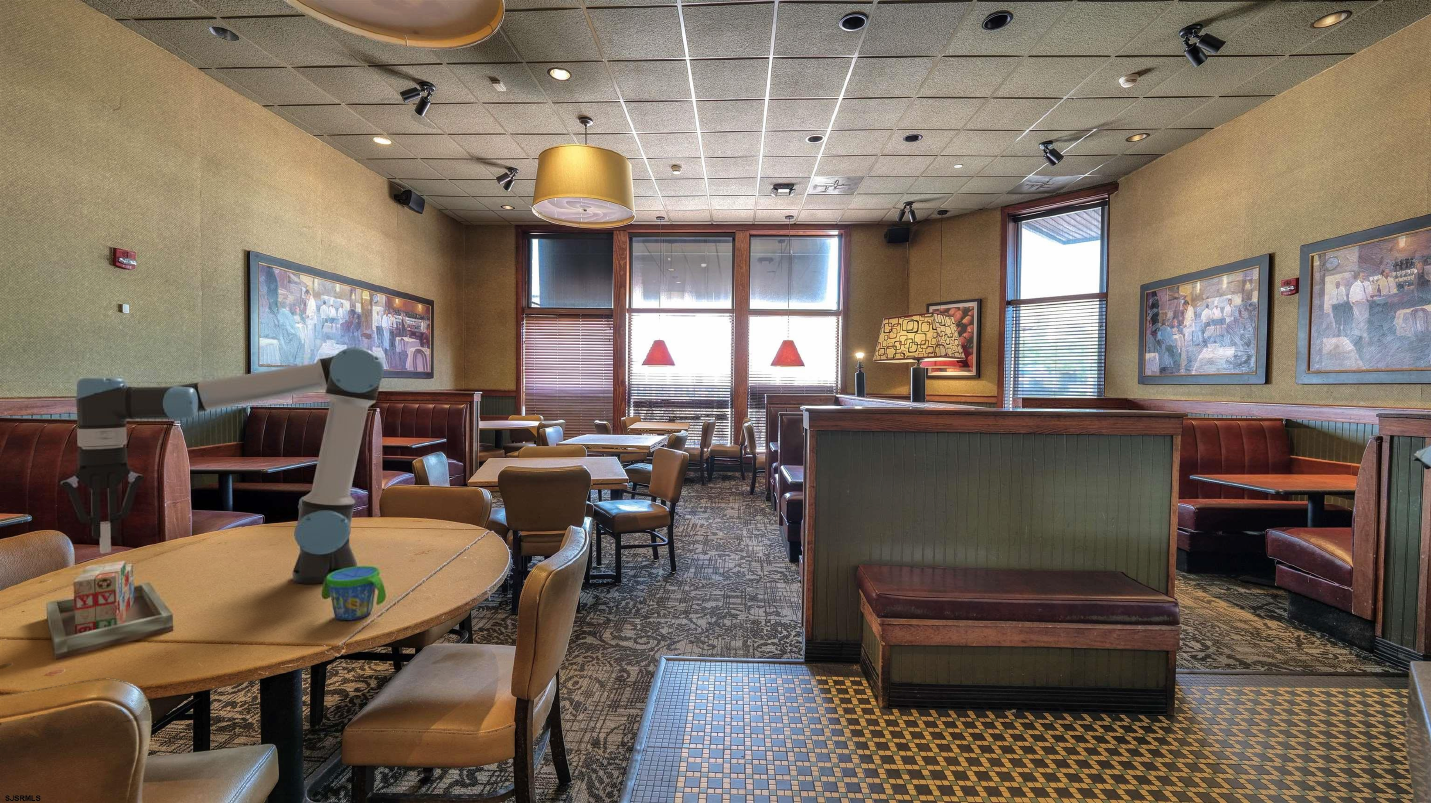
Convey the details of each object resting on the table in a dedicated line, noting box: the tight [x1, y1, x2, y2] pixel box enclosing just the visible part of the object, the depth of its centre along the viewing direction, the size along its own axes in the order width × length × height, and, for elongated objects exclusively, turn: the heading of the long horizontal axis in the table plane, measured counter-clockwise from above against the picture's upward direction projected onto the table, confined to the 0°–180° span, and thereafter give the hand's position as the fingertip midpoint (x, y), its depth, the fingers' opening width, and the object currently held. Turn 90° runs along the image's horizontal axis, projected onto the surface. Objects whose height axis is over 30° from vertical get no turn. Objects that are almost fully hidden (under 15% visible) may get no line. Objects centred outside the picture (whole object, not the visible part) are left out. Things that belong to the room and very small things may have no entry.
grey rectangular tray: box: [45, 582, 174, 660], centre depth 129 cm, size 17×31×4 cm, turn 52°
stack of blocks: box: [73, 560, 135, 634], centre depth 129 cm, size 21×6×12 cm, turn 38°
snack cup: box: [321, 565, 387, 621], centre depth 135 cm, size 16×10×10 cm
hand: (105, 551), depth 128 cm, fingers closed
